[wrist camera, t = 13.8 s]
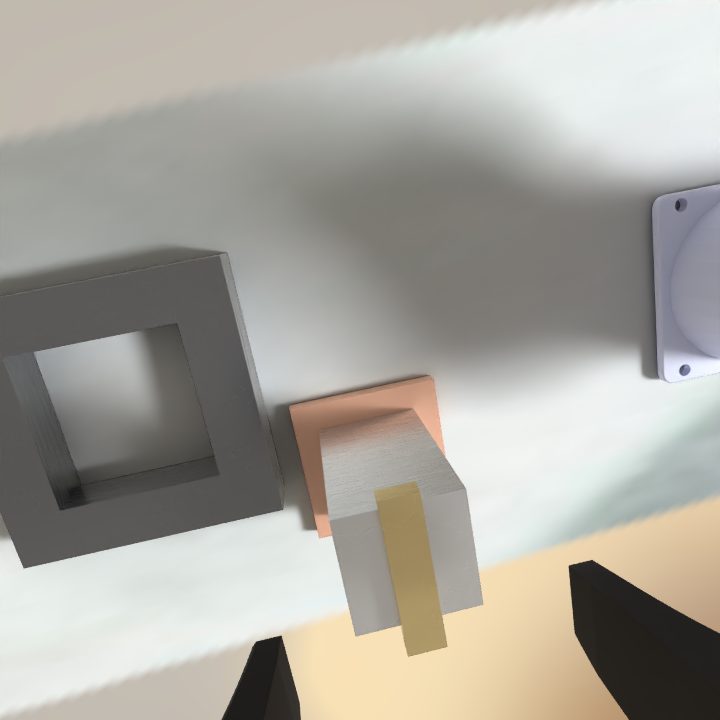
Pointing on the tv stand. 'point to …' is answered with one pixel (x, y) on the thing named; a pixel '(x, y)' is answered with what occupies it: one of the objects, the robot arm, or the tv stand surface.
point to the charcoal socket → (150, 488)
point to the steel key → (399, 528)
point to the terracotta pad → (353, 409)
